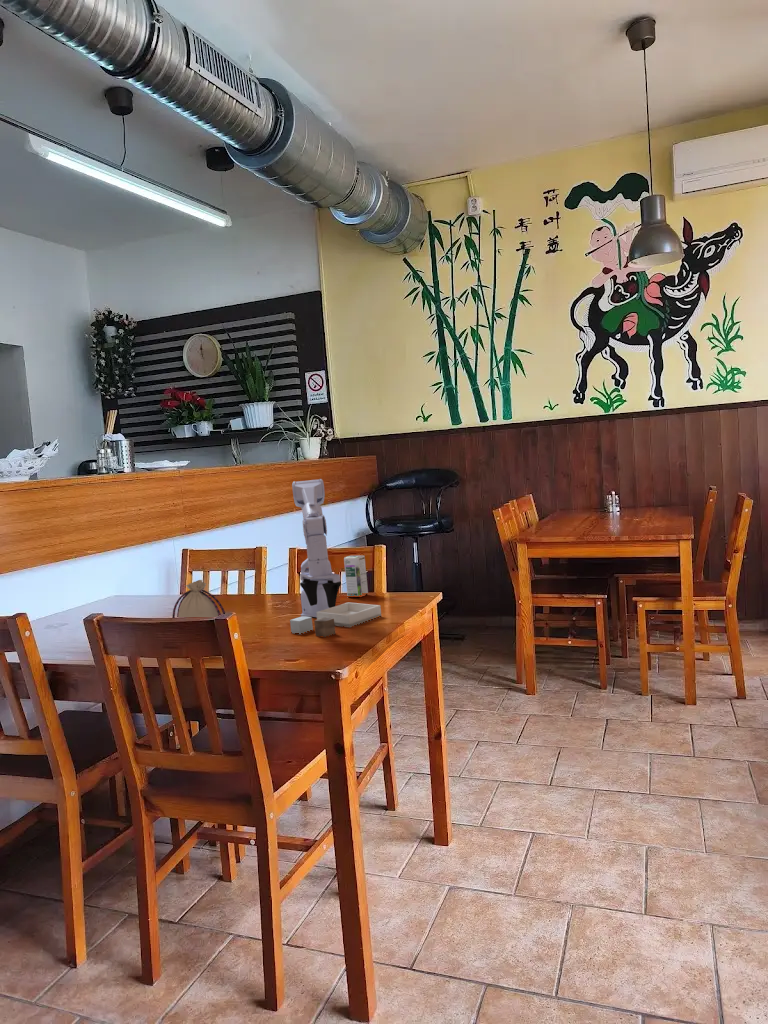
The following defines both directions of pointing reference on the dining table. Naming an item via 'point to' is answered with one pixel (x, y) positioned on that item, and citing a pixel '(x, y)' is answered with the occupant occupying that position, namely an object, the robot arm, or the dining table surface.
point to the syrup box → (355, 575)
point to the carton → (301, 624)
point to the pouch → (197, 602)
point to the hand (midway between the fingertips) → (322, 605)
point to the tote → (350, 613)
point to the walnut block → (324, 627)
